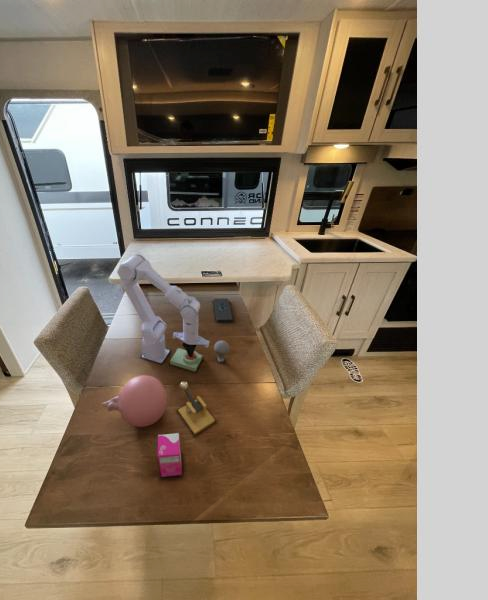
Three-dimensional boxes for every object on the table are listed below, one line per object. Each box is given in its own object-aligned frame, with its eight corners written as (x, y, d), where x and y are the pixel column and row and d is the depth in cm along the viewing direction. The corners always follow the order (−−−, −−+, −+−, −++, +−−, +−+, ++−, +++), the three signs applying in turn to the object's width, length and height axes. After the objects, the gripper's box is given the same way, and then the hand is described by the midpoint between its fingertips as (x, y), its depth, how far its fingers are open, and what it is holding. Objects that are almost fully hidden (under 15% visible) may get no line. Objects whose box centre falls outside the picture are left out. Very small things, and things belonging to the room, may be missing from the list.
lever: (177, 385, 90) (178, 382, 88) (184, 381, 91) (186, 378, 89) (193, 415, 85) (195, 412, 83) (201, 410, 86) (203, 407, 84)
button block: (170, 364, 108) (169, 357, 106) (178, 351, 114) (178, 344, 112) (195, 372, 104) (195, 365, 102) (202, 358, 111) (202, 351, 109)
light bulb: (227, 366, 107) (229, 348, 102) (212, 364, 108) (213, 346, 103) (228, 356, 112) (230, 338, 106) (214, 354, 113) (215, 336, 108)
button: (185, 360, 106) (184, 357, 106) (188, 354, 109) (188, 351, 108) (193, 362, 105) (193, 359, 104) (196, 356, 108) (196, 353, 107)
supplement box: (160, 456, 77) (158, 433, 71) (180, 454, 78) (180, 432, 71) (160, 478, 72) (157, 456, 66) (182, 476, 73) (181, 454, 67)
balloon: (109, 401, 93) (101, 370, 85) (166, 392, 96) (163, 362, 88) (105, 443, 80) (95, 412, 72) (170, 432, 83) (168, 401, 75)
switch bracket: (178, 411, 90) (177, 398, 86) (197, 400, 93) (197, 387, 90) (194, 435, 83) (194, 422, 79) (214, 422, 86) (215, 409, 83)
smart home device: (228, 298, 148) (233, 319, 131) (227, 300, 149) (233, 322, 132) (213, 298, 148) (216, 319, 131) (213, 300, 149) (216, 322, 132)
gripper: (212, 327, 100) (211, 353, 107) (177, 318, 105) (178, 344, 112) (206, 338, 94) (205, 365, 102) (169, 328, 99) (171, 355, 106)
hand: (190, 355), depth 106 cm, fingers closed, pressing on button
